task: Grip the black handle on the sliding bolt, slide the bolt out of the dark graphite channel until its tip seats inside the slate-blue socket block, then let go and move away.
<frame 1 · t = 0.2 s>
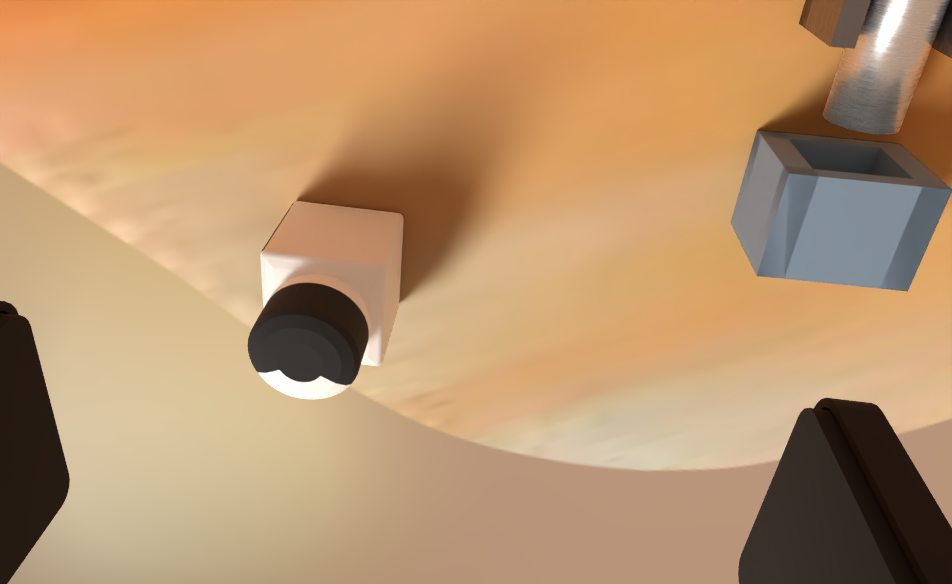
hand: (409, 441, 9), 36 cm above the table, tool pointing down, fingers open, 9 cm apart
medicine bottle: (349, 252, 50), on the table
socket block: (812, 184, 45), on the table
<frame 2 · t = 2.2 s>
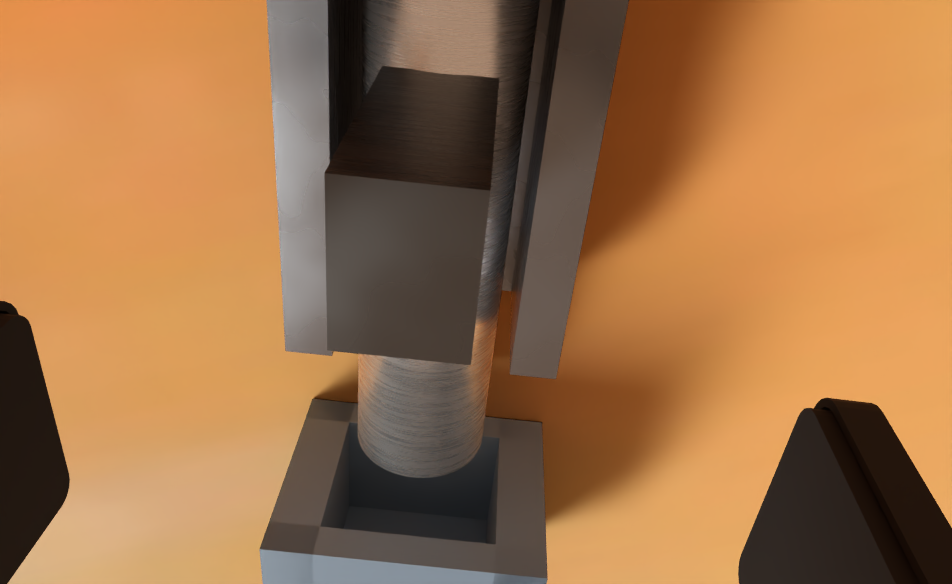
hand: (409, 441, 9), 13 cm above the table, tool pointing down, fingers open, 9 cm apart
sliding bolt: (423, 284, 17), point 6 cm above the table, slide at 0.0 cm
sleeve: (453, 76, 21), on the table
socket block: (422, 470, 29), on the table
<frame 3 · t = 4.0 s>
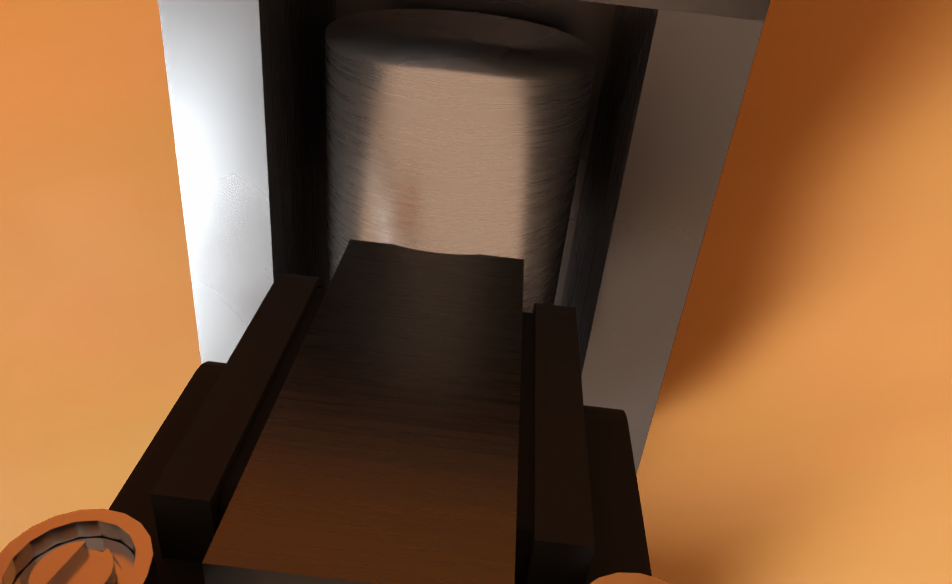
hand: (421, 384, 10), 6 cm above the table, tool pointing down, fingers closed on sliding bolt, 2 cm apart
sliding bolt: (411, 528, 12), point 6 cm above the table, slide at 0.0 cm, touching gripper
sleeve: (459, 203, 15), on the table
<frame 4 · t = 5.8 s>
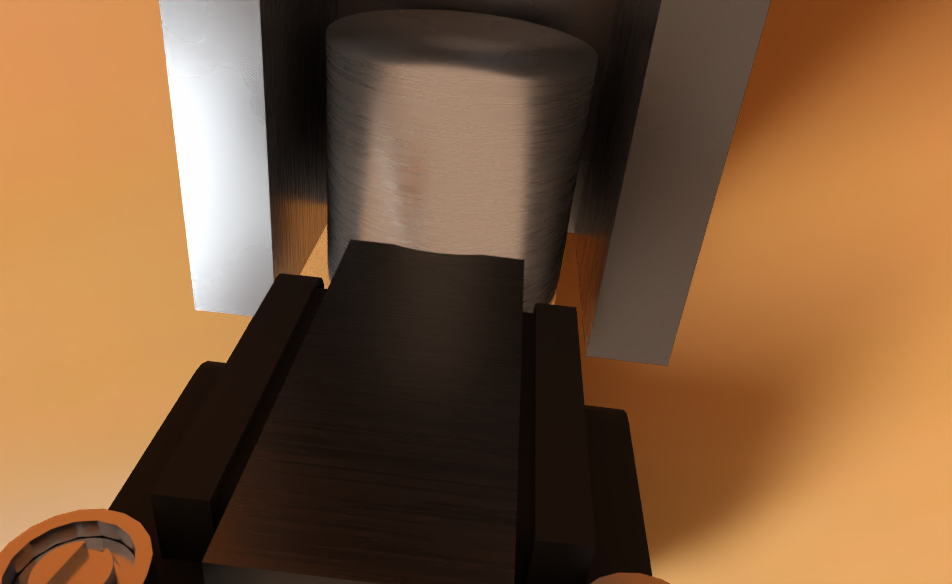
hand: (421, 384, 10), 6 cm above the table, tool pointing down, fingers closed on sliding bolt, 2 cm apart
sliding bolt: (411, 528, 12), point 6 cm above the table, slide at 6.1 cm, touching gripper
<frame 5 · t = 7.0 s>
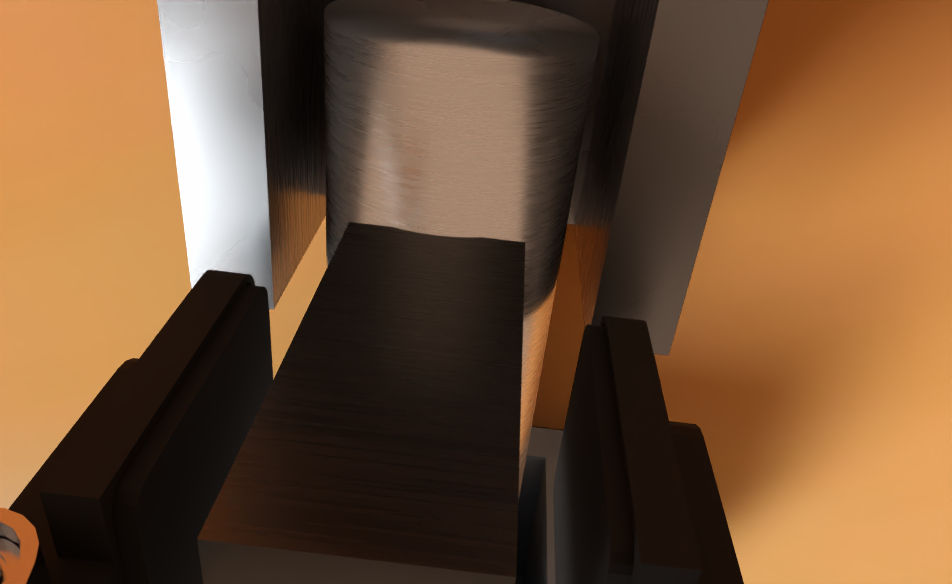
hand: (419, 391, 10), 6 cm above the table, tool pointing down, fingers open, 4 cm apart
sliding bolt: (411, 516, 12), point 6 cm above the table, slide at 6.0 cm
socket block: (431, 502, 20), on the table
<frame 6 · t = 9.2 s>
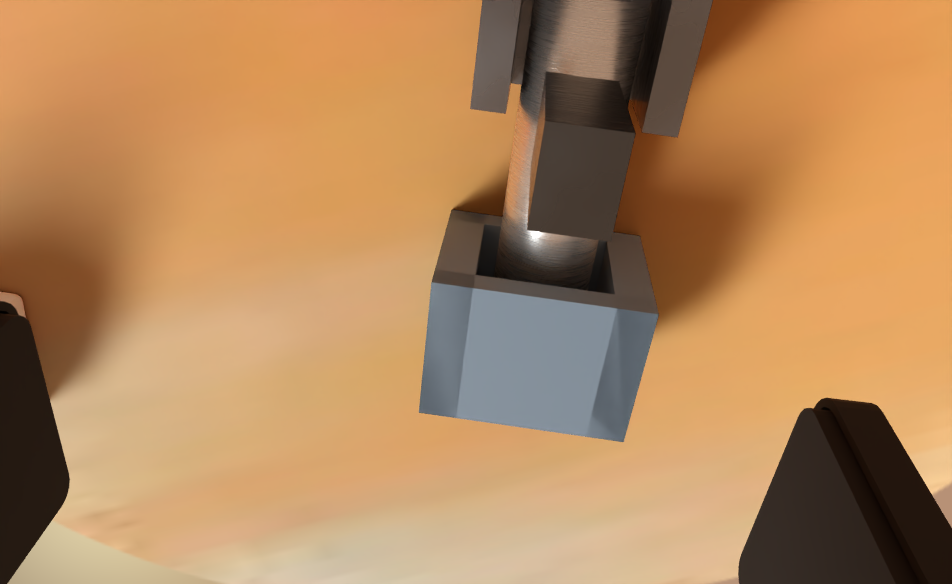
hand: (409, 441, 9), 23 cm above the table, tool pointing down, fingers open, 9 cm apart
sliding bolt: (558, 215, 26), point 6 cm above the table, slide at 6.0 cm
socket block: (535, 282, 34), on the table
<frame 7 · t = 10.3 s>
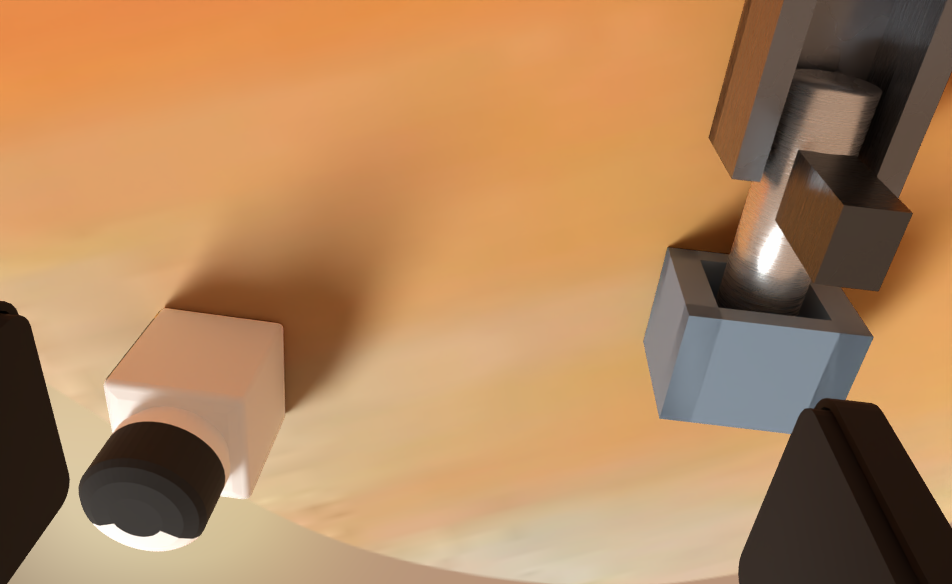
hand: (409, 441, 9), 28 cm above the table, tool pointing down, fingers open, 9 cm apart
medicine bottle: (227, 360, 45), on the table
sliding bolt: (798, 261, 33), point 6 cm above the table, slide at 6.0 cm
sleeve: (824, 15, 33), on the table
socket block: (731, 305, 41), on the table
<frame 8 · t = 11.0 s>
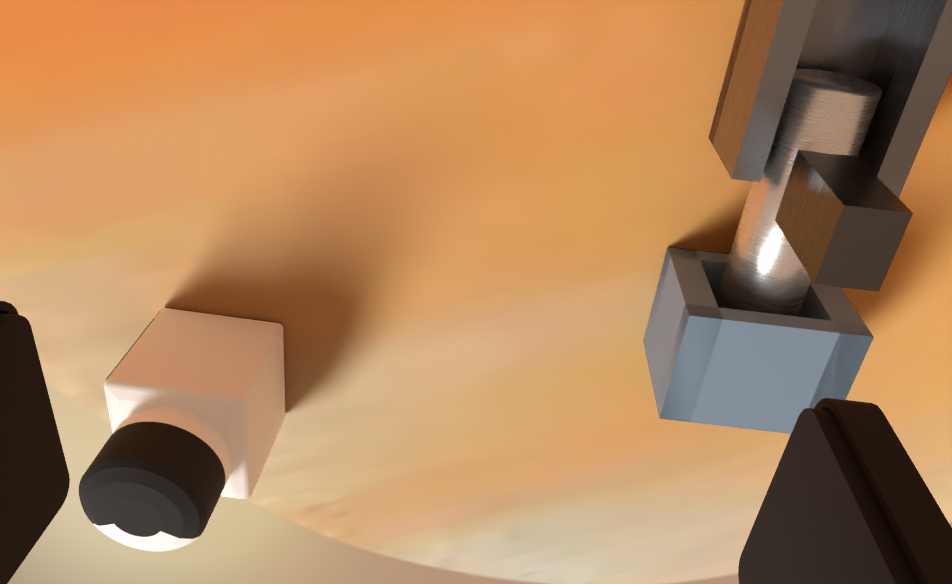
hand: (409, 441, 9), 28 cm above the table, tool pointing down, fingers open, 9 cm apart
medicine bottle: (227, 360, 45), on the table
sliding bolt: (798, 260, 33), point 6 cm above the table, slide at 6.0 cm
sleeve: (824, 14, 33), on the table
socket block: (731, 305, 41), on the table
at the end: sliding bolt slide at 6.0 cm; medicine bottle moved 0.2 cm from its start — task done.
